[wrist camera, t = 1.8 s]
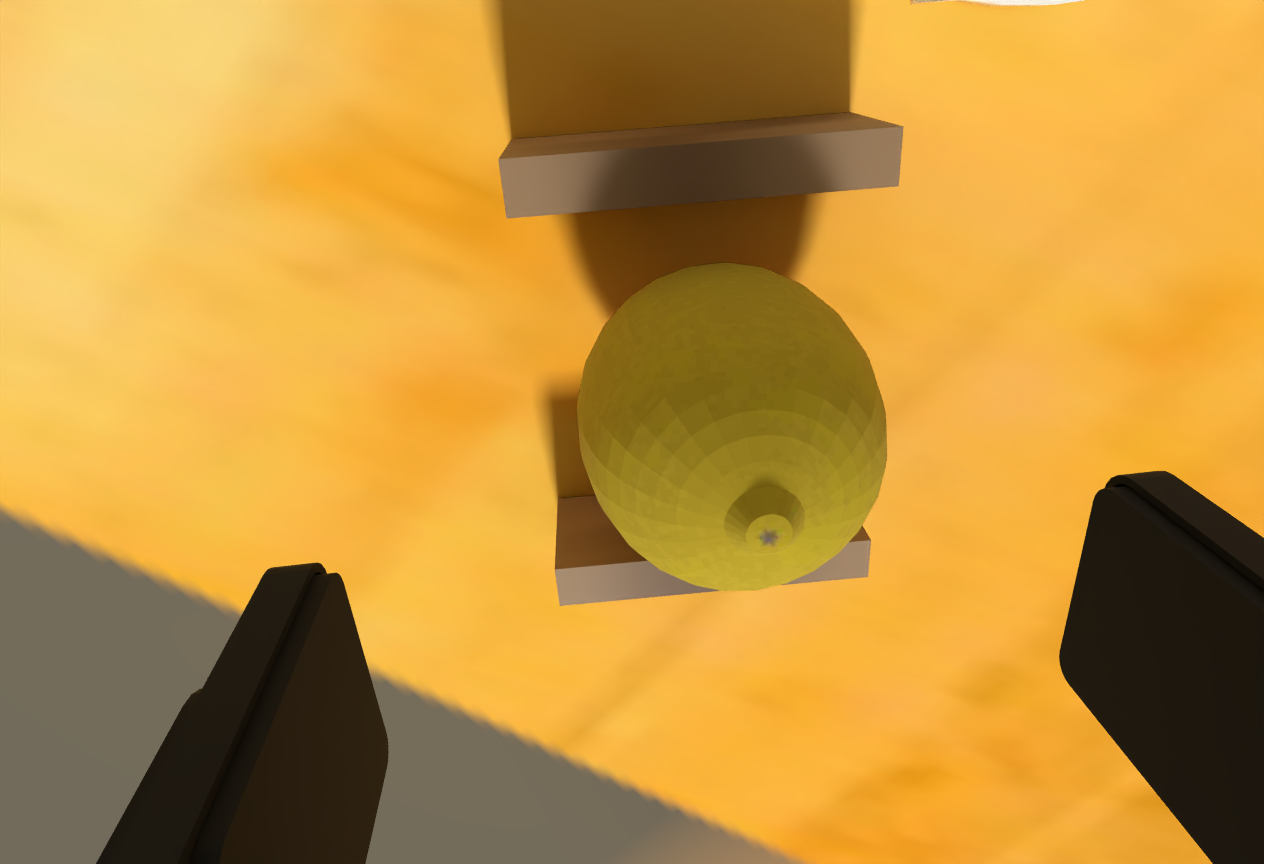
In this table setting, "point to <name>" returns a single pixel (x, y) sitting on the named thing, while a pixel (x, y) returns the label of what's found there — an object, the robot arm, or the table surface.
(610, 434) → the lemon
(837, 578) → the rack
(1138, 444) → the table surface
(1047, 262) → the table surface
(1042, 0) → the saucer
